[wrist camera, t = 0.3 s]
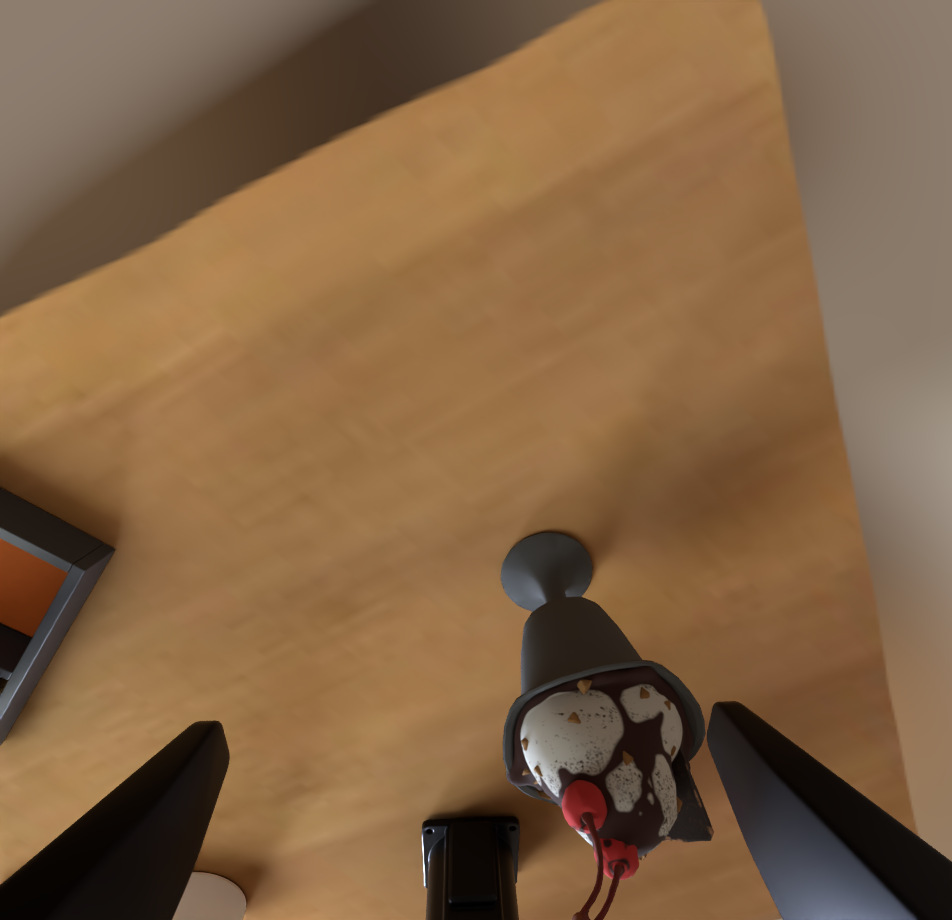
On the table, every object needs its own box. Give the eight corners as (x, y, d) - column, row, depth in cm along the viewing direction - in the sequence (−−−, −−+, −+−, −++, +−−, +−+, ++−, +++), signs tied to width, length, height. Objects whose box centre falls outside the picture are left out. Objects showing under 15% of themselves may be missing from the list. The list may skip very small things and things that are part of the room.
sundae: (467, 539, 23) (480, 899, 9) (591, 501, 23) (808, 816, 9) (503, 637, 25) (561, 1052, 11) (618, 603, 25) (828, 992, 11)
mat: (91, 552, 23) (88, 554, 23) (42, 638, 24) (39, 641, 24) (-45, 480, 21) (-50, 482, 21) (-88, 577, 23) (-92, 579, 23)
